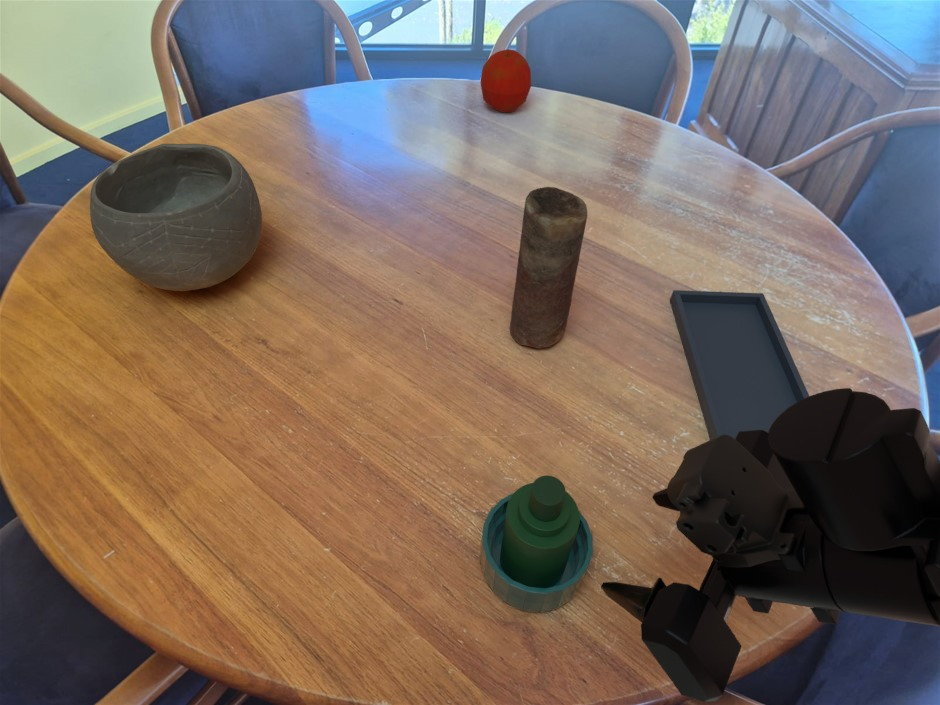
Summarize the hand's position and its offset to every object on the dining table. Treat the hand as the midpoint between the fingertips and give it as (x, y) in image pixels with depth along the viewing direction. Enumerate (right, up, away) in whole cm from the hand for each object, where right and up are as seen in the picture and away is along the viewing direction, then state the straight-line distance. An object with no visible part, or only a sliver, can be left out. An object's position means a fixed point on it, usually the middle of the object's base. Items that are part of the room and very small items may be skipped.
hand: (631, 541), depth 48 cm
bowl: (-52, +27, +42) cm, 72 cm away
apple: (-6, +65, +79) cm, 102 cm away
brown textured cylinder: (-4, +17, +35) cm, 39 cm away
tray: (+22, +11, +29) cm, 38 cm away
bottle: (-7, -5, +12) cm, 15 cm away
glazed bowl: (-7, -6, +13) cm, 15 cm away
